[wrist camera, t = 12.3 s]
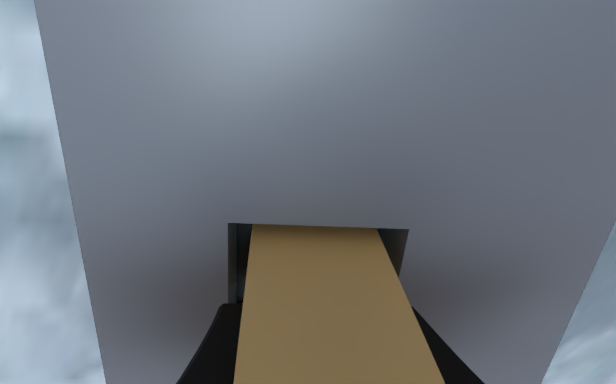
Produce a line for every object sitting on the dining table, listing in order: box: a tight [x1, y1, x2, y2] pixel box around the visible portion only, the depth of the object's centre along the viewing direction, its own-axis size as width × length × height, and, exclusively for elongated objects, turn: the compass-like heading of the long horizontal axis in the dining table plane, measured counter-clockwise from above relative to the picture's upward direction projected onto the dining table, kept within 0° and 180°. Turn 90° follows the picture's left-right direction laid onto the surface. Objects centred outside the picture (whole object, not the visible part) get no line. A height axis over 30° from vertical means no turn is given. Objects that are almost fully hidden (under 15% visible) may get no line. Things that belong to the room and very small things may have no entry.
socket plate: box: [34, 0, 616, 384], centre depth 12 cm, size 14×22×2 cm, turn 176°
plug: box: [233, 224, 445, 384], centre depth 9 cm, size 4×4×7 cm
